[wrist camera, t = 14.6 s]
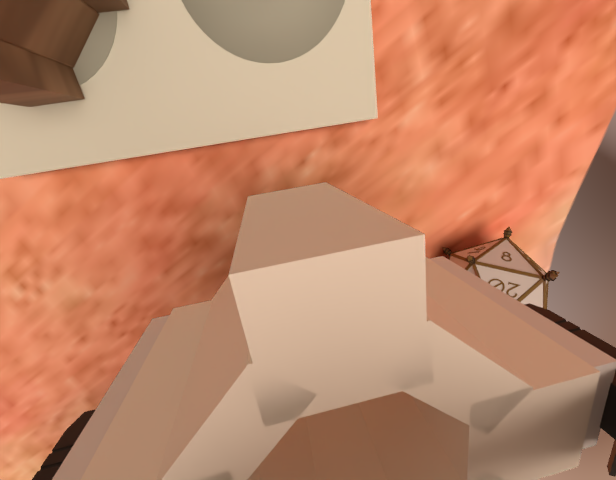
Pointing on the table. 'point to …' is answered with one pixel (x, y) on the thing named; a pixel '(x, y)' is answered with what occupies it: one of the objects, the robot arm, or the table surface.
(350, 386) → the cream gear
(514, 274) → the game die
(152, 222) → the table surface
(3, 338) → the table surface
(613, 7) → the table surface
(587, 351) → the robot arm
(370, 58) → the board
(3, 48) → the walnut gear
